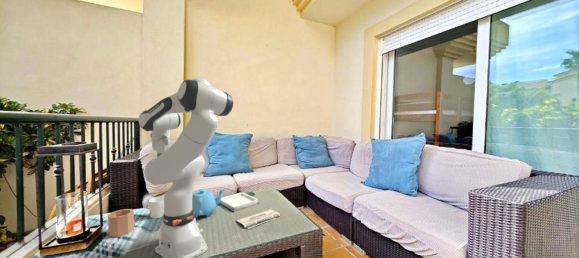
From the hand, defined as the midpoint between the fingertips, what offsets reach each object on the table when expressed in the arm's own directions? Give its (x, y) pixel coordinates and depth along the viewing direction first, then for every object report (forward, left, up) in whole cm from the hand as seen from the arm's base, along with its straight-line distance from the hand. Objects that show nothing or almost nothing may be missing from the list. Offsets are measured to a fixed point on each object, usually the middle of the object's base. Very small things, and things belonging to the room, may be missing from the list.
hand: (161, 160), depth 123 cm
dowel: (0, 0, -12) cm, 12 cm away
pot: (-7, +20, -32) cm, 38 cm away
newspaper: (-40, -37, -32) cm, 63 cm away
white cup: (+1, +3, -32) cm, 32 cm away
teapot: (-12, -17, -32) cm, 38 cm away
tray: (-12, -40, -32) cm, 53 cm away
